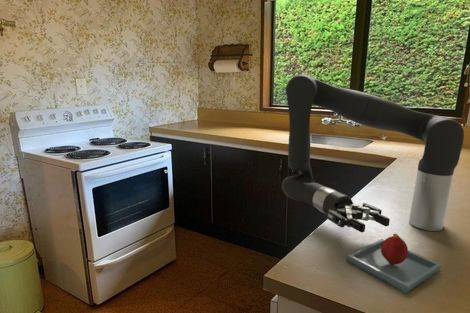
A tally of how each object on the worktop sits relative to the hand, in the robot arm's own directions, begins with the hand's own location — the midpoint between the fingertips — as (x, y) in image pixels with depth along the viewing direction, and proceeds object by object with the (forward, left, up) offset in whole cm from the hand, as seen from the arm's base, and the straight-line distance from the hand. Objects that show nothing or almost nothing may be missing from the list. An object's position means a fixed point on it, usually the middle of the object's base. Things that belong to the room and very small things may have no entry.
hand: (376, 225), depth 86 cm
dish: (+1, +6, -8) cm, 10 cm away
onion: (+1, +6, -7) cm, 10 cm away
